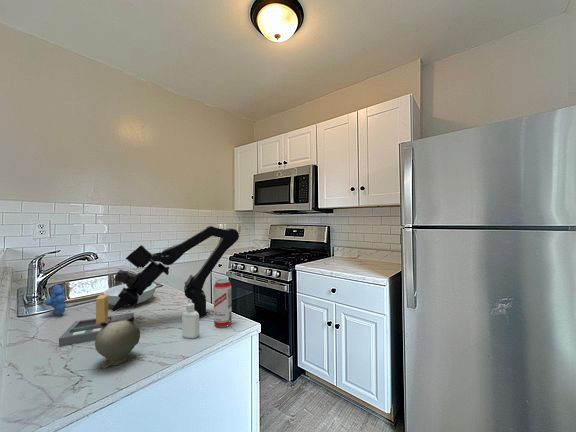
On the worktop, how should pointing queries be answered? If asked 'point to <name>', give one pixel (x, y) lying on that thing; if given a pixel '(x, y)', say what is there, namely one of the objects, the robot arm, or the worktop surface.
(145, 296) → the serving bowl
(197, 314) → the eye dropper bottle
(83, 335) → the switch housing
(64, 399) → the worktop surface
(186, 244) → the robot arm
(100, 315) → the switch tab
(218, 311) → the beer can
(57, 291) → the grapes
